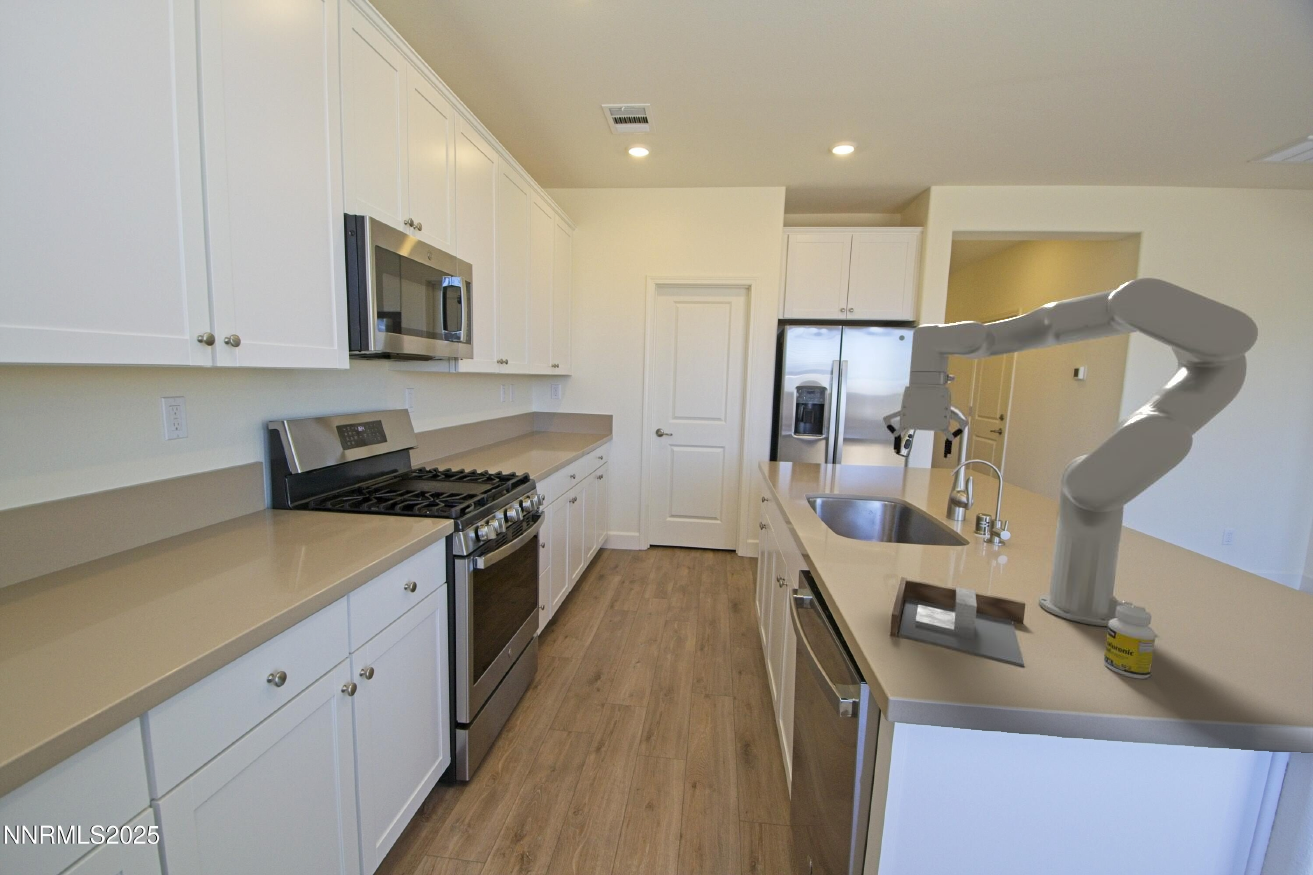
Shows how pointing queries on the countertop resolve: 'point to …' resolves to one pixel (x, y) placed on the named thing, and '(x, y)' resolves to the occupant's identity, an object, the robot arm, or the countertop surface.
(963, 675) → the countertop surface
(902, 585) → the walnut corner walls
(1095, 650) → the countertop surface
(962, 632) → the aluminium bracket
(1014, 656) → the slate mat
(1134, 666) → the supplement bottle
